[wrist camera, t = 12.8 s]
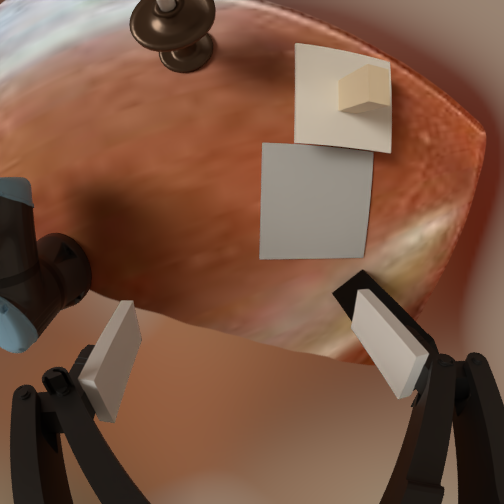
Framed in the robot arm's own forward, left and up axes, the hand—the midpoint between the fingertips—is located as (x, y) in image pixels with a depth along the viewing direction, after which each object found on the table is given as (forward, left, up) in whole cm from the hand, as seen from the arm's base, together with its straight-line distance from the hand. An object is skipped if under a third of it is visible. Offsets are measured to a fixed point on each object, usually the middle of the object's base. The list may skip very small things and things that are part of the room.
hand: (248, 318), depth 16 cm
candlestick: (-9, +28, -34) cm, 45 cm away
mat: (+14, +1, -34) cm, 37 cm away
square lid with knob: (+16, +19, -28) cm, 37 cm away
